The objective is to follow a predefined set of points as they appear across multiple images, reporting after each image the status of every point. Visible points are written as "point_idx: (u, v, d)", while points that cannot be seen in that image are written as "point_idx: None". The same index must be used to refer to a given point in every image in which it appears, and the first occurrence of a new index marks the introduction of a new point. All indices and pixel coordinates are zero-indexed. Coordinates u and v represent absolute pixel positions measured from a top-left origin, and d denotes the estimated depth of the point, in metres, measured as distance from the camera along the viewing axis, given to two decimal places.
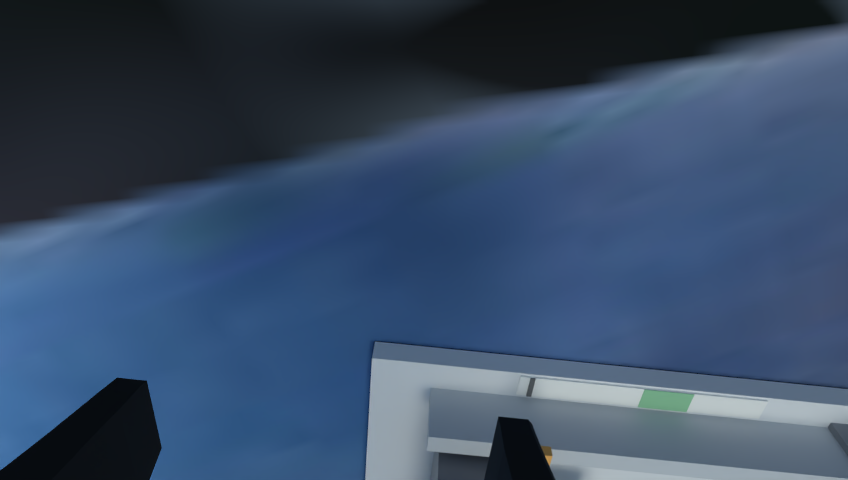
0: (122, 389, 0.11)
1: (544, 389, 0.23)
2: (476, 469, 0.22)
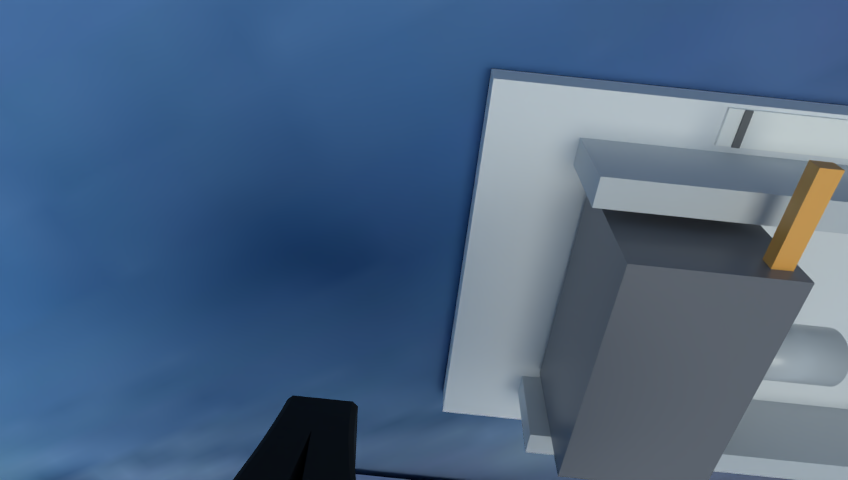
0: (304, 408, 0.11)
1: (762, 133, 0.15)
2: (675, 237, 0.13)
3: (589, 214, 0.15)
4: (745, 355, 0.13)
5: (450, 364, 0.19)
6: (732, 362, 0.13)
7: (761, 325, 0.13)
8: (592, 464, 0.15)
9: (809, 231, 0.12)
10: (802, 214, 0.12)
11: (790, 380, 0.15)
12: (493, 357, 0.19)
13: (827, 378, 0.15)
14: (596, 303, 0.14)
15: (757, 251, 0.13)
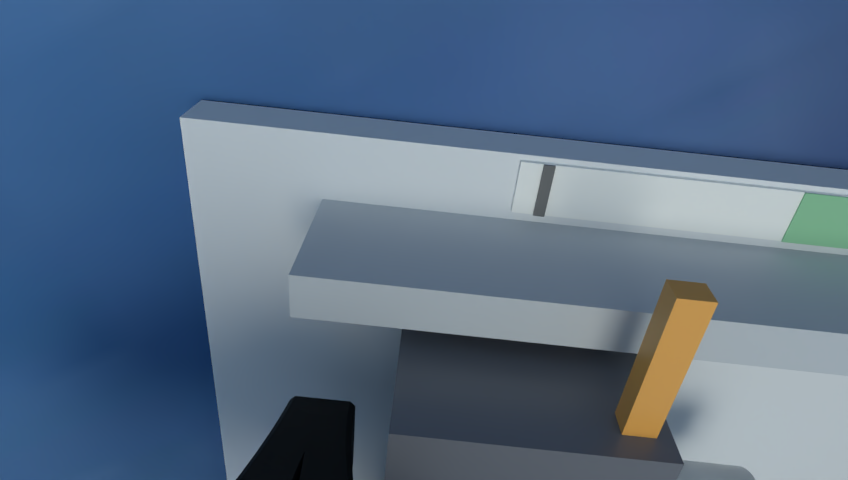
0: (306, 408, 0.11)
1: (574, 197, 0.10)
2: (492, 369, 0.09)
3: None
4: None
5: (228, 473, 0.15)
6: None
7: None
8: None
9: (673, 387, 0.07)
10: (659, 363, 0.07)
11: None
12: None
13: None
14: None
15: (611, 397, 0.09)
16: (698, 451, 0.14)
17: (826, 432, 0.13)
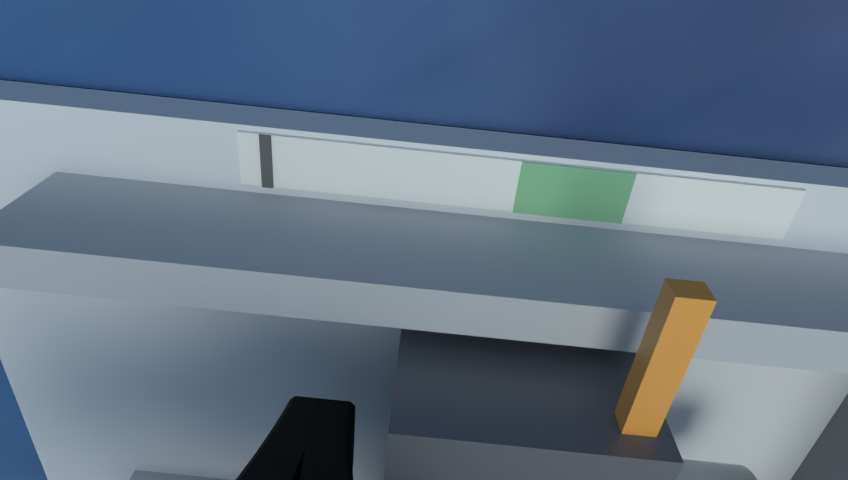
0: (306, 408, 0.11)
1: (298, 167, 0.10)
2: (492, 369, 0.09)
3: None
4: None
5: (41, 455, 0.15)
6: None
7: None
8: None
9: (672, 385, 0.07)
10: (658, 362, 0.07)
11: None
12: (87, 448, 0.15)
13: None
14: None
15: (611, 396, 0.09)
16: None
17: None
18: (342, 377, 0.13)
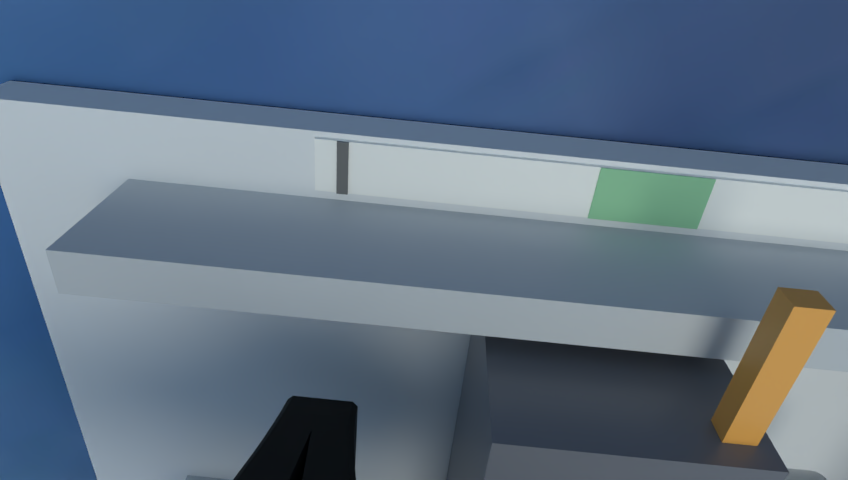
0: (304, 407, 0.11)
1: (374, 174, 0.10)
2: (581, 377, 0.09)
3: None
4: None
5: (93, 460, 0.15)
6: None
7: None
8: None
9: (780, 395, 0.07)
10: (768, 371, 0.07)
11: None
12: (141, 453, 0.15)
13: None
14: (472, 466, 0.09)
15: (704, 404, 0.09)
16: None
17: None
18: (403, 382, 0.13)
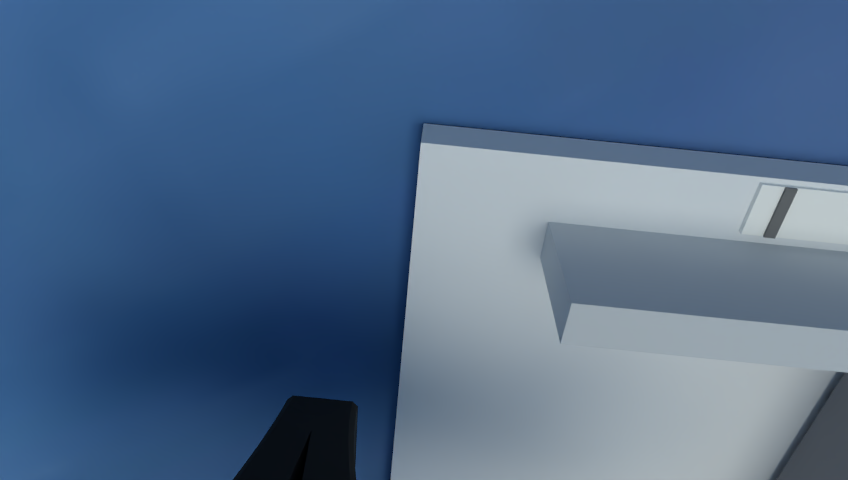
0: (304, 407, 0.11)
1: (809, 219, 0.10)
2: None
3: None
4: None
5: None
6: None
7: None
8: None
9: None
10: None
11: None
12: None
13: None
14: None
15: None
16: None
17: None
18: (747, 416, 0.13)
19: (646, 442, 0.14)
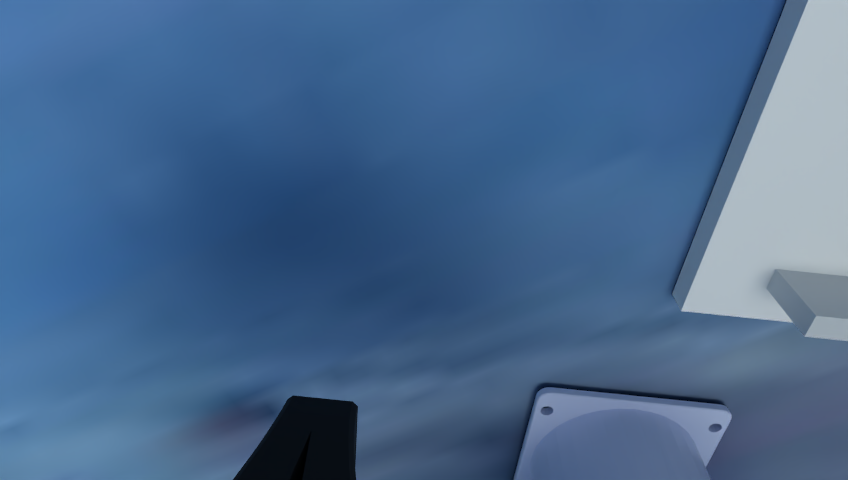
0: (303, 407, 0.11)
1: None
2: None
3: None
4: None
5: (702, 257, 0.19)
6: None
7: None
8: None
9: None
10: None
11: None
12: (751, 248, 0.19)
13: None
14: None
15: None
16: None
17: None
18: None
19: None
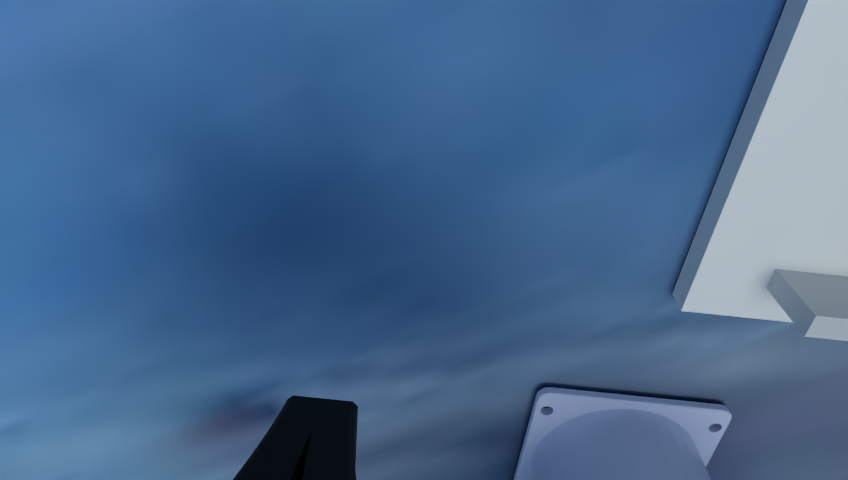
0: (303, 407, 0.11)
1: None
2: None
3: None
4: None
5: (702, 257, 0.19)
6: None
7: None
8: None
9: None
10: None
11: None
12: (751, 248, 0.19)
13: None
14: None
15: None
16: None
17: None
18: None
19: None
